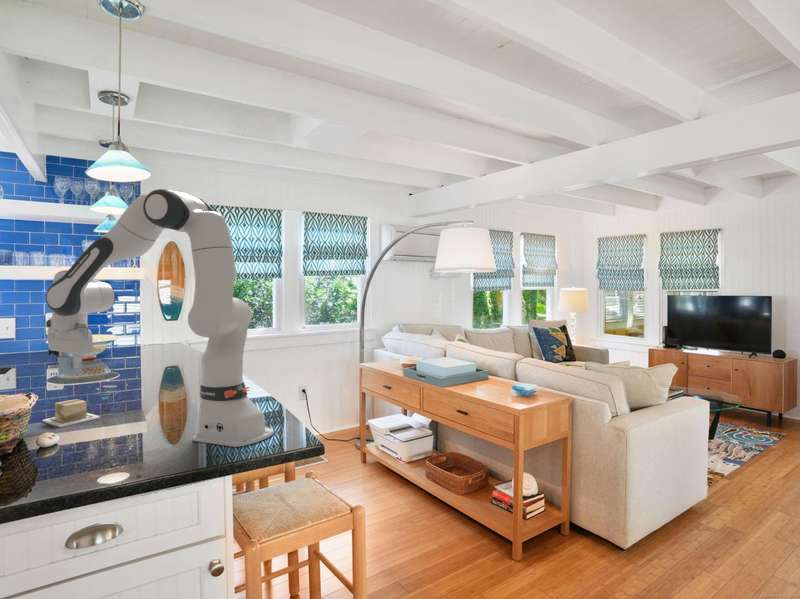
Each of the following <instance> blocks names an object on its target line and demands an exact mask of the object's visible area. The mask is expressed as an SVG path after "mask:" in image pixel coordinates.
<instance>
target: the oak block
mask: <svg viewBox="0 0 800 599" xmlns="http://www.w3.org/2000/svg"><path fill="white" fill-rule="evenodd" d="M87 409H88V408H87V401H86V400H82V399H79V398H75V399H69V400H64V401H59V402H54V410H55V411H54V413H55V414H54V417H55V419H57V420H60V421H63V422H68V421H72V420H77V419H81V418H86V417H87V413H88V412H87V411H88V410H87Z"/></svg>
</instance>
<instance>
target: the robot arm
mask: <svg viewBox="0 0 800 599" xmlns="http://www.w3.org/2000/svg"><path fill="white" fill-rule="evenodd" d="M165 229H169V230H174V231H176V232H179V233H180V232H181V233H186V234H187V236H188V238H189V242H190V248H191V256H192V262H193V270H194V280H195V281H194V292H193V293H194V295H193V302H192V306H191V308H190V310H189V312H188V315H187V324H188V326H189V328H190V330H191V331H192V332H193V333H194V335H197V336H199V337H201V338H206V339H207V338H208V342H207V344H206V348H205V351H204V352H203V354H202V357H201V384H200V385H199V386H200V387H199V388H200V389H199V398H201V401H200V404H199V407H198V410H197V417H196V418H197V419H196V429H195V434H194V435H193V437H192V441H193V442H198V443H206V444H212V445H220V446H226V447H234V448H235V447H236V448H237V447H243V446H248V445H251V444H252V445H253V444H255V443H258V442H261V441H263V440H266V439H268V438H270V437H271V436H273V435H274V434H275V433H274V429H272V428H269V427H268V426H266V420H265V415H264V412H262V411H261V409H260V408H259V407H258V406H257V405H256V404H255V403H254V402H253V401H252V400H251V399H250V398H249V396H248V392H249V391H250V386H247V387H246V384H245V382H244V380H243V379H244V377H243V376H244V372H243V371H244V369H243V367H244V366H243V365H244V352H245V351H244V350H245V346H246V341H247V340H246V339H247V335H248V328H249V325H250V323H251V321H252V317H253V314H252V311H253V310H252V309H251V306H250V305H249V304H248V303H247V302H246V301H244V300H242V299H240V298H238V297H234V295H233V294H234V284H235V281H236V279H237V278H236V277H237V268H236V262H235V261H236V260H235V255H234V248H233V242H232V237H231V234H230V230H229V226H228V224H227V222H226V219H225V217H224V215H222V214H221V213H219V212H217V211H214V210H213V207H212V206H211V205H210V204H209V203H208V202H207V201H205V200H204V199H201V198H199V197H195V196H192V195H189V193H186V192H182V191H181V192H180V191H175V190H172V189H168V188H166V189H165V188H162V189H159V188H158V189H154V190H152V191H150V192H149V193H147V194H141V195H139V196H138V197H136V199H135V200H133V201H132V202H131V203H130V204H129V205H128V207H127V208H126V209H125V210H124V212H123V213H122V214H121V215H120V217H119V219H118V220H117V222H115V224H114V225H113V226H112V227H111V228H110V229H109V230H108V231H107V232H106V233H105V234H104V235H102V236H101V237H99V238H98V239H96V240H95V241H93V242H92V243H91V244H90V245H89V246H88V247H87V248H86V249H85V250H84V251H83V253H82V254H81V255H80V256H79V257H78V258H77V259H76V260H75V262H74V263H73V264H72V265H71V267H70V268H69V269H67V270H66V269H65V270H60V271H58V272H56V273H55V274H54V277H53V279H52V284H51V285H50V286H49V287H48V289H47V291H46V294H45V302H46V304H47V306H48V307H49V309H50V310H51V312H52V313H51V314H52V316H51V317H50V318H48V319H47V320H46V321H45V327H46V328H47V330H46V331H47V332H46V334H47V345H48V349H49V350H50V351H53V352H54V351H55V352H58V355H59V356H58V357H61V356H69V354H70V355H71V354H72V355H73V357H74V358H73V362H71V367H72V368H79V367H80V361H81V359H82V360H83V356H87V355H91V354H93V352H94V340H93V339H94V338H93V334H92V331H91V330H90V329H89V327H88V314H92V313H103V312H106V311H109V310H111V308H113V306H114V305H115V302H116V292H115V290H114V287H112V285H111V284H109V283H108V282H104V281H100V280H97V279H95V278H96V276H97V275H98V274H99V273H100V271H102V270H103V269H104V268H105V267H107V266H109V265H111V264H115V263H117V262H122V261H125V260H132V259H137V258H139V257H142V256H144V255H145V254H146V253H147V252H149V250H150V249H152V247H153V246H154V244H155V243H156V241H157V239H158V238H159V237H160V236H161V233H162V232H163V231H164V230H165Z"/></svg>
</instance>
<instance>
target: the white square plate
mask: <svg viewBox="0 0 800 599" xmlns="http://www.w3.org/2000/svg"><path fill="white" fill-rule="evenodd" d="M98 419H101V416H100V415H96V414H93V413H89V412H87V417H86V418H81V419H77V420H72V421H68V422H63V421H60V420H57V419H55V416H53V417H50V418H45V419H42V422H43V423H46V424H48V425H52V426H54V427H57V428H63V427H69V426H72V425H77V424H82V423H87V422H89V421H94V420H98Z"/></svg>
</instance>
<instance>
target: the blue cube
mask: <svg viewBox="0 0 800 599" xmlns="http://www.w3.org/2000/svg"><path fill="white" fill-rule="evenodd" d="M57 358H58V359H57V360H58V363H57V364H58V365H57V369H58V370H57V371H58V374H60V375H61V374H62V375H71V374H80V373H83V372H84V371H83V370H84V369H83V358H82V359H81V361H80V367H79V368H72V367H71V362H73V358H74V357H73V355H71V354H70V355H68V356H61V357H60V356H58V357H57Z"/></svg>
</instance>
